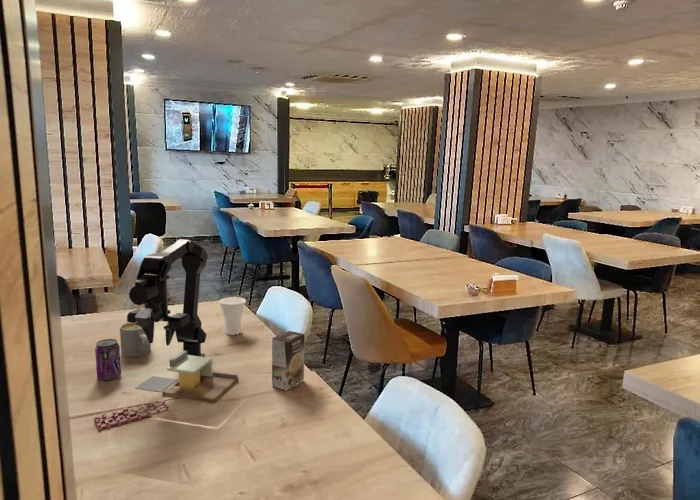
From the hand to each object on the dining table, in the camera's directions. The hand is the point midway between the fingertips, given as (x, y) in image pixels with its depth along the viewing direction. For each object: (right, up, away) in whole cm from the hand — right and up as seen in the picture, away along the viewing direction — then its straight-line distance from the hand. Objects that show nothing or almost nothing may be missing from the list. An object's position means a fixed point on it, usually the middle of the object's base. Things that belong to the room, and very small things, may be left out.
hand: (159, 344), depth 162 cm
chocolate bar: (-1, -17, -18) cm, 25 cm away
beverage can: (-18, -12, +6) cm, 23 cm away
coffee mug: (-18, -8, +26) cm, 32 cm away
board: (+13, -14, -1) cm, 19 cm away
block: (+9, -13, 0) cm, 16 cm away
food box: (+40, -14, +4) cm, 42 cm away
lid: (+10, -12, 0) cm, 15 cm away
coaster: (-1, -13, +1) cm, 13 cm away
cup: (+12, -4, +49) cm, 51 cm away
